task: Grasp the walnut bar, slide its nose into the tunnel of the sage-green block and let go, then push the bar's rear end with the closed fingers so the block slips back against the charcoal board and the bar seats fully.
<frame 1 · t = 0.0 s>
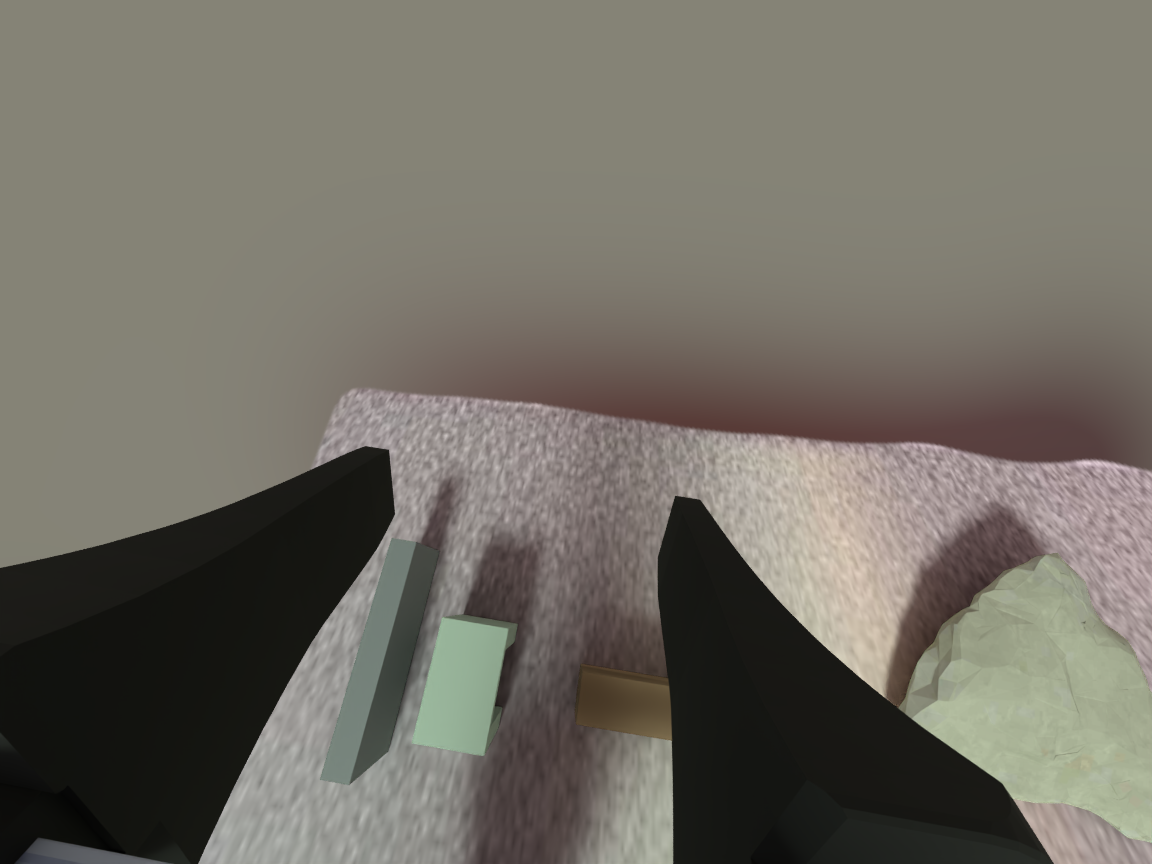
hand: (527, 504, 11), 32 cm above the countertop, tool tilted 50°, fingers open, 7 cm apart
board: (404, 642, 39), on the countertop
bar: (647, 697, 38), on the countertop
rock: (1017, 671, 40), on the countertop
block: (471, 675, 35), point 4 cm above the countertop, slide at 0.0 cm
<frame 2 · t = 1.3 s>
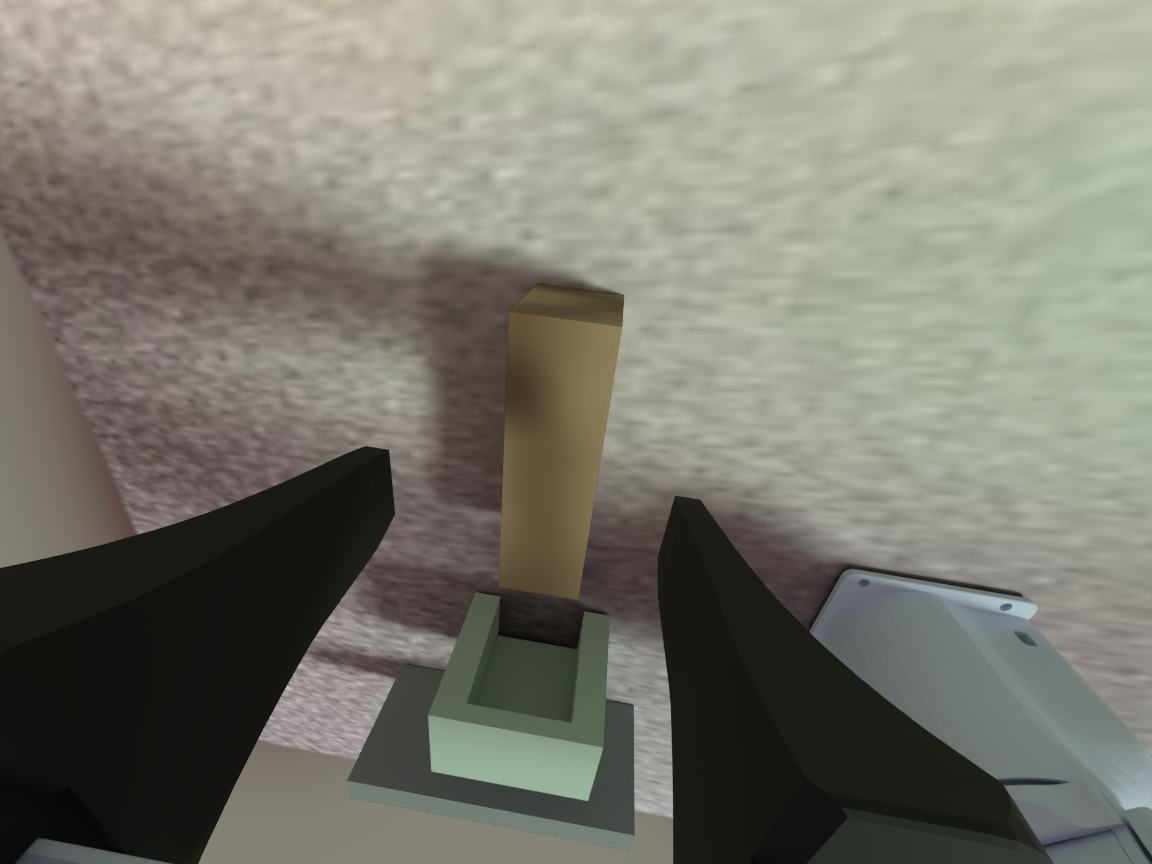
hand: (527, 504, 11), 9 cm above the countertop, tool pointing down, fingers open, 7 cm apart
board: (516, 693, 31), on the countertop
bar: (566, 420, 21), on the countertop
block: (527, 687, 24), point 4 cm above the countertop, slide at 0.0 cm
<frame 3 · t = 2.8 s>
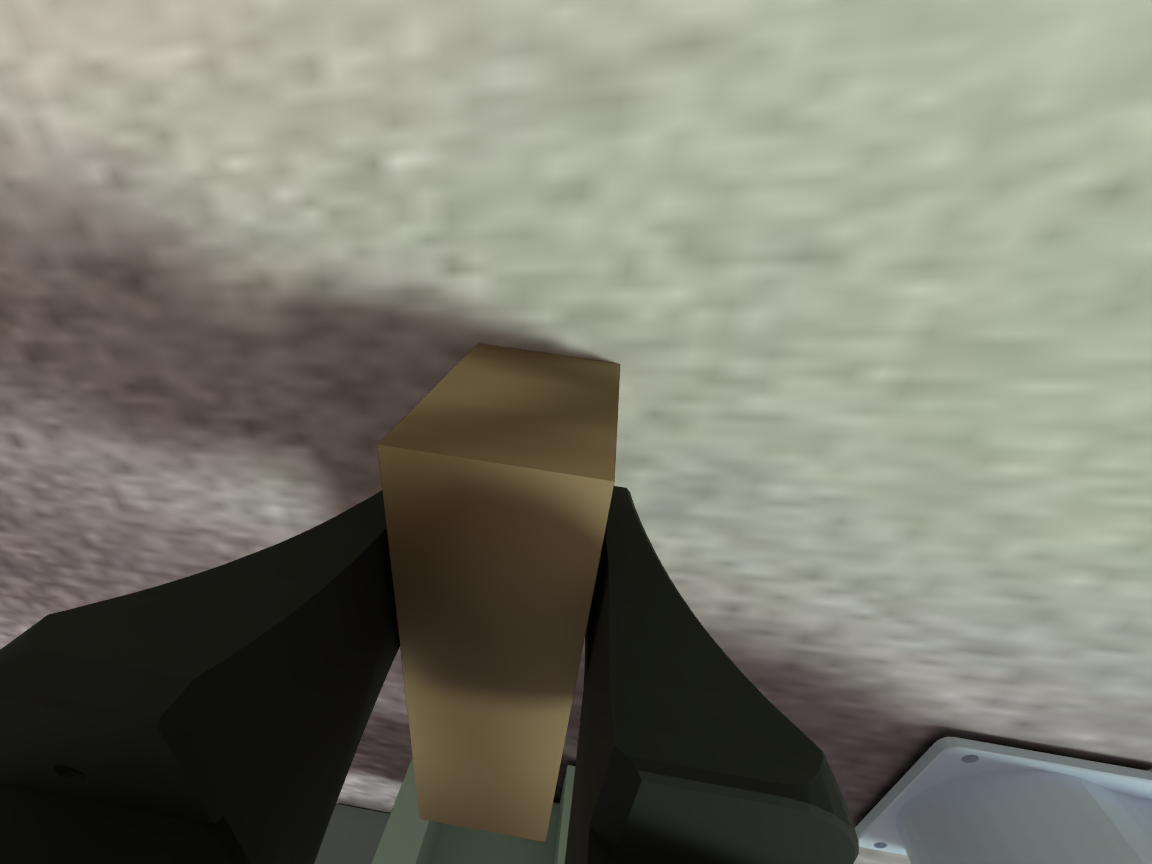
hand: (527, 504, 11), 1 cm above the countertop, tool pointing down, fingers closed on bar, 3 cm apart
board: (484, 839, 24), on the countertop
bar: (531, 540, 14), on the countertop, touching gripper
when the fingers open (2 cm above the countertop, at t = 6.2 s): bar stays where it is, on the countertop.
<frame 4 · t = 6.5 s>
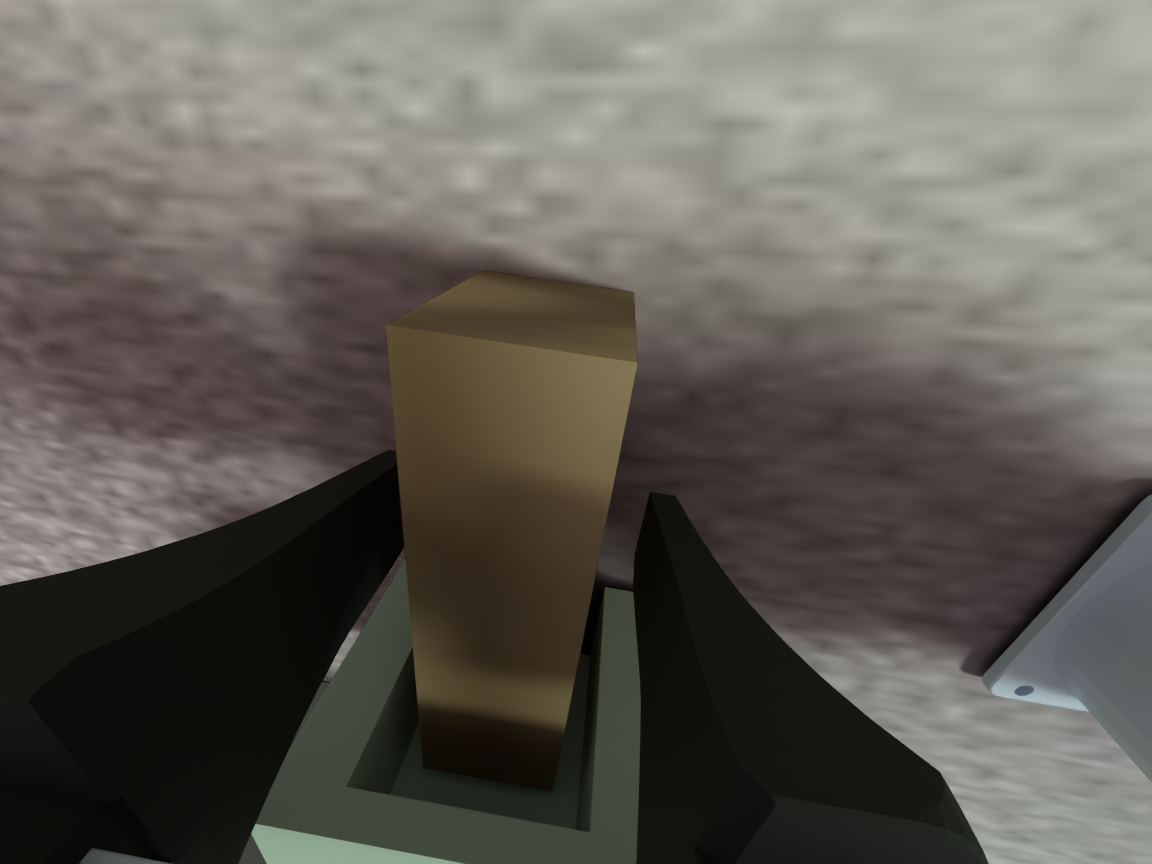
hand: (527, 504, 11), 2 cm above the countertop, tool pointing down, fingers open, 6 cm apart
board: (491, 725, 19), on the countertop
bar: (538, 487, 13), on the countertop
block: (497, 732, 13), point 4 cm above the countertop, slide at 0.0 cm
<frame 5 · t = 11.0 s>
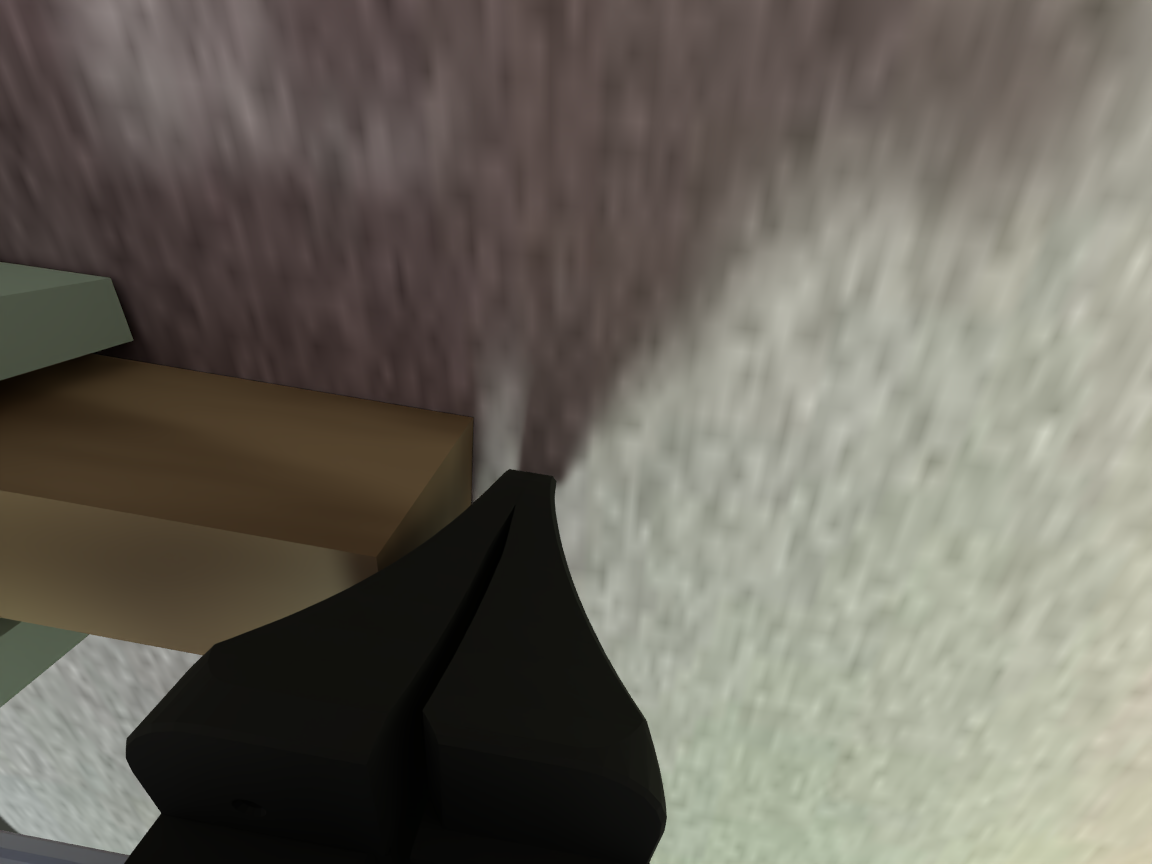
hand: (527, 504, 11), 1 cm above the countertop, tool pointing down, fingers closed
bar: (259, 437, 12), on the countertop, touching block, gripper
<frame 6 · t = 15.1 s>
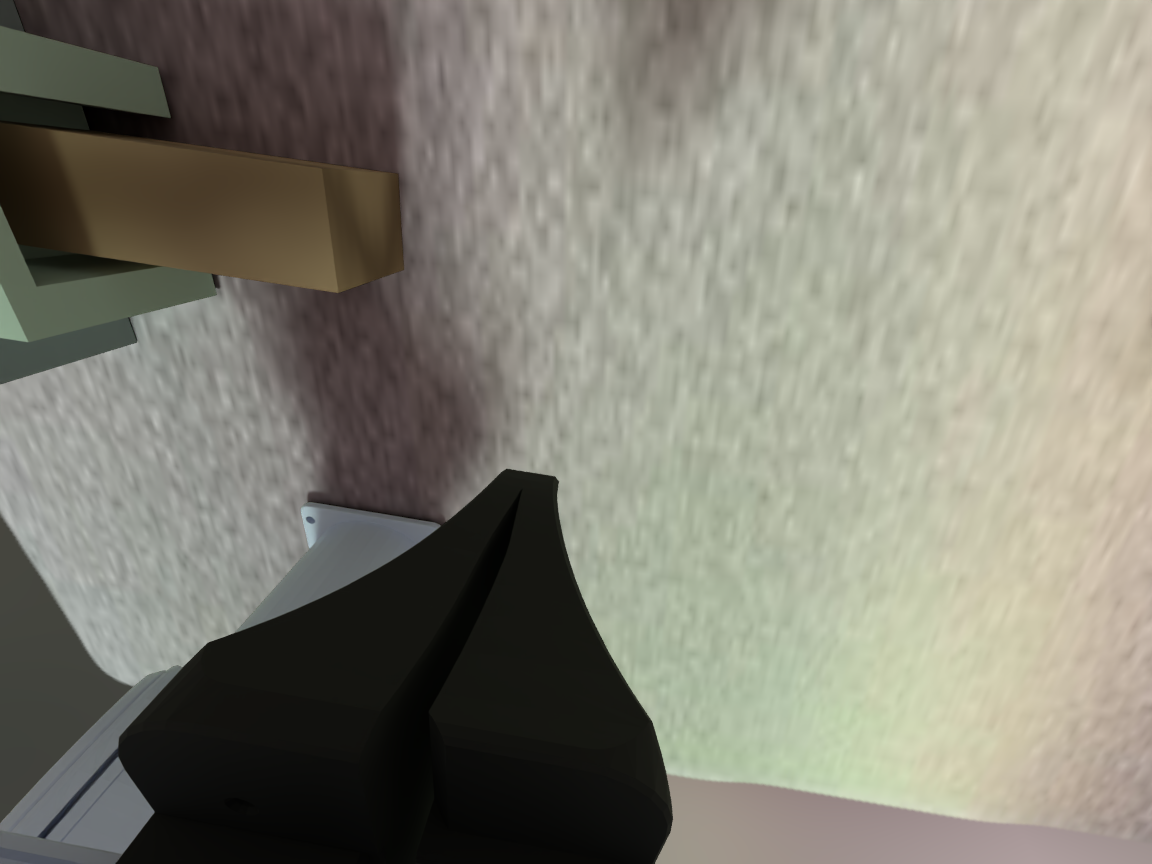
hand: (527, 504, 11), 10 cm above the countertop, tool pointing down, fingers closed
board: (42, 144, 18), on the countertop
bar: (259, 202, 18), on the countertop
block: (26, 183, 15), point 4 cm above the countertop, slide at 3.5 cm, touching board
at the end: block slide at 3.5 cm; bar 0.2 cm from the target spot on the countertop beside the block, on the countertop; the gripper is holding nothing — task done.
